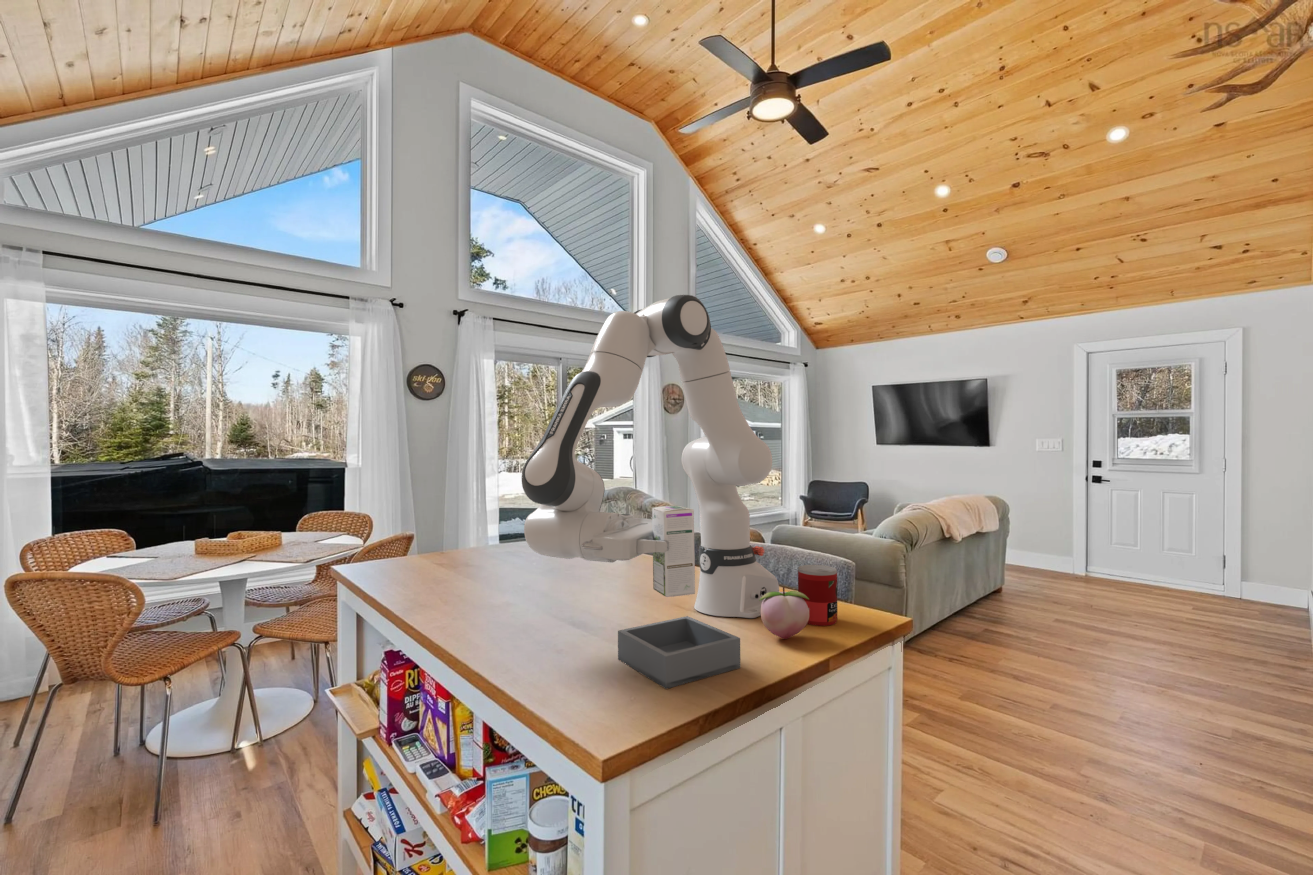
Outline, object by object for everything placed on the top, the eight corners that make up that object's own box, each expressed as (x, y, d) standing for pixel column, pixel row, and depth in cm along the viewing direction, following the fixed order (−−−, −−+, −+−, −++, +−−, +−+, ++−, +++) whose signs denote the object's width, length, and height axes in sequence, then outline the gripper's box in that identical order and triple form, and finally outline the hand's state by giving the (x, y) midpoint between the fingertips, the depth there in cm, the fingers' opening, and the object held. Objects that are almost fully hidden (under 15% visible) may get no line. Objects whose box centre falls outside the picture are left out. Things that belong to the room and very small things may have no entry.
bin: (687, 642, 112) (687, 616, 112) (740, 667, 100) (740, 637, 100) (618, 659, 104) (617, 630, 104) (666, 689, 91) (665, 656, 91)
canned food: (836, 628, 120) (836, 573, 120) (796, 624, 123) (795, 570, 123) (838, 617, 127) (838, 565, 127) (800, 613, 130) (800, 563, 130)
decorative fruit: (799, 630, 119) (799, 580, 119) (815, 644, 111) (814, 590, 111) (753, 632, 118) (753, 582, 118) (766, 647, 109) (765, 592, 109)
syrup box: (696, 594, 100) (696, 508, 100) (664, 598, 98) (663, 509, 98) (682, 586, 106) (682, 504, 106) (651, 590, 103) (651, 506, 103)
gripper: (575, 527, 98) (653, 532, 92) (630, 512, 116) (697, 516, 111) (576, 566, 98) (653, 573, 92) (630, 545, 116) (697, 549, 111)
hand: (677, 541), depth 102 cm, fingers closed on syrup box, 8 cm apart
